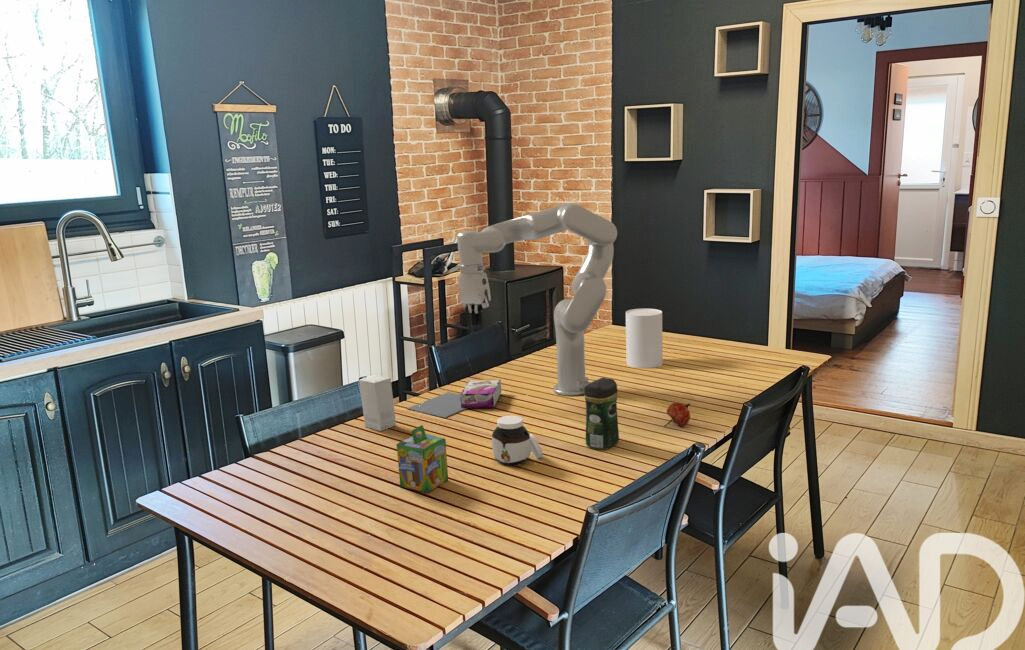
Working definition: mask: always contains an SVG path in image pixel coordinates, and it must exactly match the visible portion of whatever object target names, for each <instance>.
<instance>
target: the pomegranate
mask: <svg viewBox="0 0 1025 650" xmlns="http://www.w3.org/2000/svg"><path fill="white" fill-rule="evenodd" d="M689 406H691V403H687V404H683V403H682V402H673V403H671V404H669V406H668V407H667V408H666V414H667V415H668V416H669V417H670V418H671V419H670V420H669V421H668V422H667V423H665V425H664V426H663V427H666V426H668V425H670V423H672V422H673V423H675V424H676V425H677V426H678V427H680V428H682V427H684V426H686V425H687V424H688V423H689V422H690V419H691V412H690V410H689Z"/></svg>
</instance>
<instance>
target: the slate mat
mask: <svg viewBox="0 0 1025 650" xmlns="http://www.w3.org/2000/svg"><path fill="white" fill-rule="evenodd" d="M460 394H461V393H460ZM460 394H458V393H456V392H455V393H454V392H449V391H447V392H445V393H443V394H440V395H437V396H435V397H433V398H430V399H427V400H425V401H423V402H424V403H422V402H419V403H417V404H418V405H417V404H414V405H412V406H410V407H407V408H406V410H407V409H411V410H415V411H418V412H417V413H420V412H422V413H421V414H424V413H426V414H425V415H428V414H431V415H430V416H432V415H435V416H434V417H437V416H438V418H441V417H442V419H446V418H448V417H451V415H452V416H454V415H456V414H458V412H459V413H461V412H463V411H466V410H468V409H469V408H461V398H460ZM421 403H422V404H421ZM419 404H420V407H419ZM465 409H466V410H465ZM411 410H410V411H411ZM415 411H414V412H415ZM460 411H461V412H460Z"/></svg>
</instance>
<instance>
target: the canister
mask: <svg viewBox="0 0 1025 650" xmlns="http://www.w3.org/2000/svg"><path fill="white" fill-rule="evenodd" d="M625 347H626V349H625V351H626V352H625V353H626V354H625V357H626V365H627V366H628V365H629V366H628V367H630V366H631V367H630V368H634V367H635V368H636V369H654V368H659V367H660V366H662V365H663V311H662V310H660V309H656V308H649V307H648V308H633V309H628V310H626V311H625ZM635 368H634V369H635Z"/></svg>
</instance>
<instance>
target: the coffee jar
mask: <svg viewBox="0 0 1025 650" xmlns="http://www.w3.org/2000/svg"><path fill="white" fill-rule="evenodd" d="M583 397H584V400H585V411H586V412H585V415H586V416H585V422H586V423H585V444H586V446H587V447H589V448H591V449H593V450H607V449H610V448H612V447H613V446H615V445H617V443H619V440H620V435H619V434H620V433H619V432H620V431H619V424H618V423H619V421H618V420H619V419H618V409H617V405H618V404H617V402H618V401H617V400H618V383H617V382H616V381H615V379H613V378H608V377H600V378H599V379H596V380H593V381H591V383H589V384H587V385H585V387H584V394H583Z"/></svg>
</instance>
